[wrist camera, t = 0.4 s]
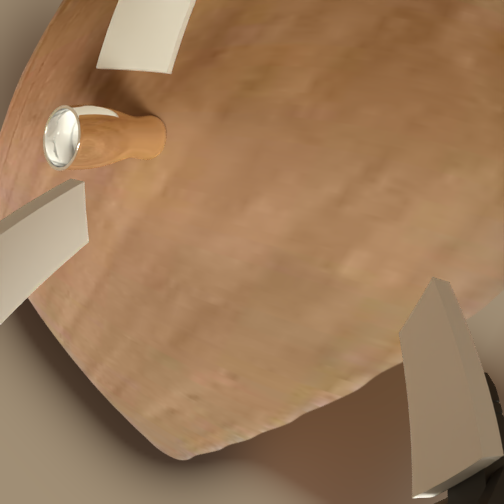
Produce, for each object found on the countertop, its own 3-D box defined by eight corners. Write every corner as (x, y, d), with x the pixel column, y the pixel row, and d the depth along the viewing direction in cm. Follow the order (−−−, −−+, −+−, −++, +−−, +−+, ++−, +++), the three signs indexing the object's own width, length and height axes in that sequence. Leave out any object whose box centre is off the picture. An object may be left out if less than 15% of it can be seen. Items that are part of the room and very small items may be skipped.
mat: (127, -9, 33) (123, -11, 32) (202, -15, 30) (198, -18, 29) (100, 69, 38) (95, 68, 37) (170, 74, 35) (166, 72, 34)
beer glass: (170, 109, 36) (83, 96, 23) (169, 162, 38) (81, 171, 25) (129, 115, 38) (42, 109, 25) (128, 163, 40) (42, 174, 27)
